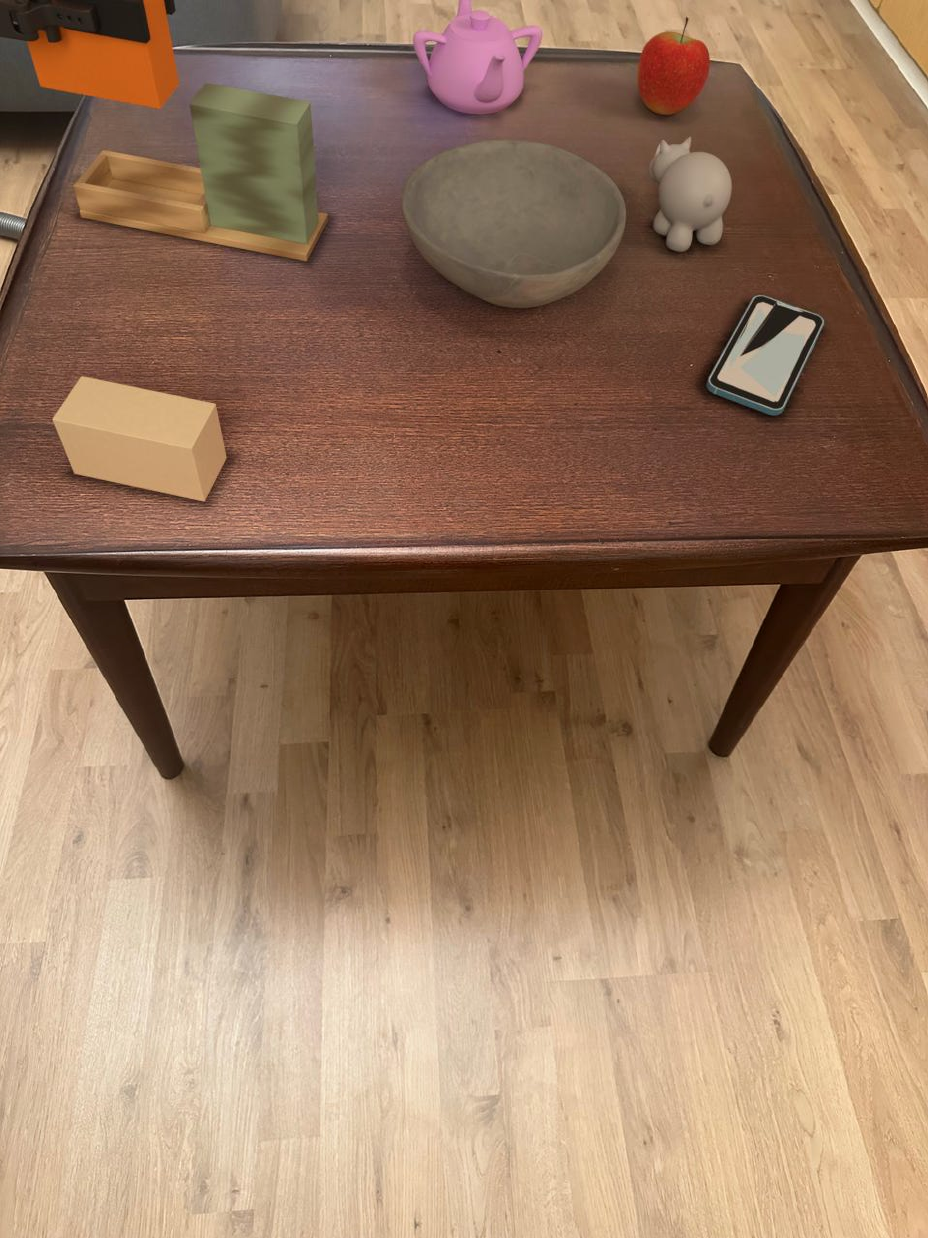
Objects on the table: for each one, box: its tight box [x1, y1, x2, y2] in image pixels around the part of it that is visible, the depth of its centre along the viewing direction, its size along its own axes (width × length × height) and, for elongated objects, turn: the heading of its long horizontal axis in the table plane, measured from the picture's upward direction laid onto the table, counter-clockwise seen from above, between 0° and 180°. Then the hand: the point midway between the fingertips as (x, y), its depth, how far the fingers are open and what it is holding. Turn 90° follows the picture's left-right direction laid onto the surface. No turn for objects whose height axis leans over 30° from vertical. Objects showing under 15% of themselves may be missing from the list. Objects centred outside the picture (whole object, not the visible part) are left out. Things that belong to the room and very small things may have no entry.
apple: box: [636, 16, 711, 116], centre depth 109 cm, size 8×8×10 cm
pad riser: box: [52, 375, 227, 502], centre depth 74 cm, size 11×5×6 cm, turn 77°
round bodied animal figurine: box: [647, 136, 733, 253], centre depth 97 cm, size 7×12×8 cm, turn 18°
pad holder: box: [72, 82, 329, 262], centre depth 90 cm, size 24×7×13 cm, turn 77°
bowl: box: [400, 139, 627, 309], centre depth 90 cm, size 21×21×8 cm
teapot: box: [412, 0, 543, 115], centre depth 109 cm, size 12×14×9 cm
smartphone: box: [705, 294, 825, 417], centre depth 89 cm, size 7×1×15 cm
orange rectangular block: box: [26, 0, 180, 110], centre depth 70 cm, size 10×4×12 cm, turn 77°
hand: (157, 6), depth 70 cm, fingers closed on orange rectangular block, 4 cm apart
